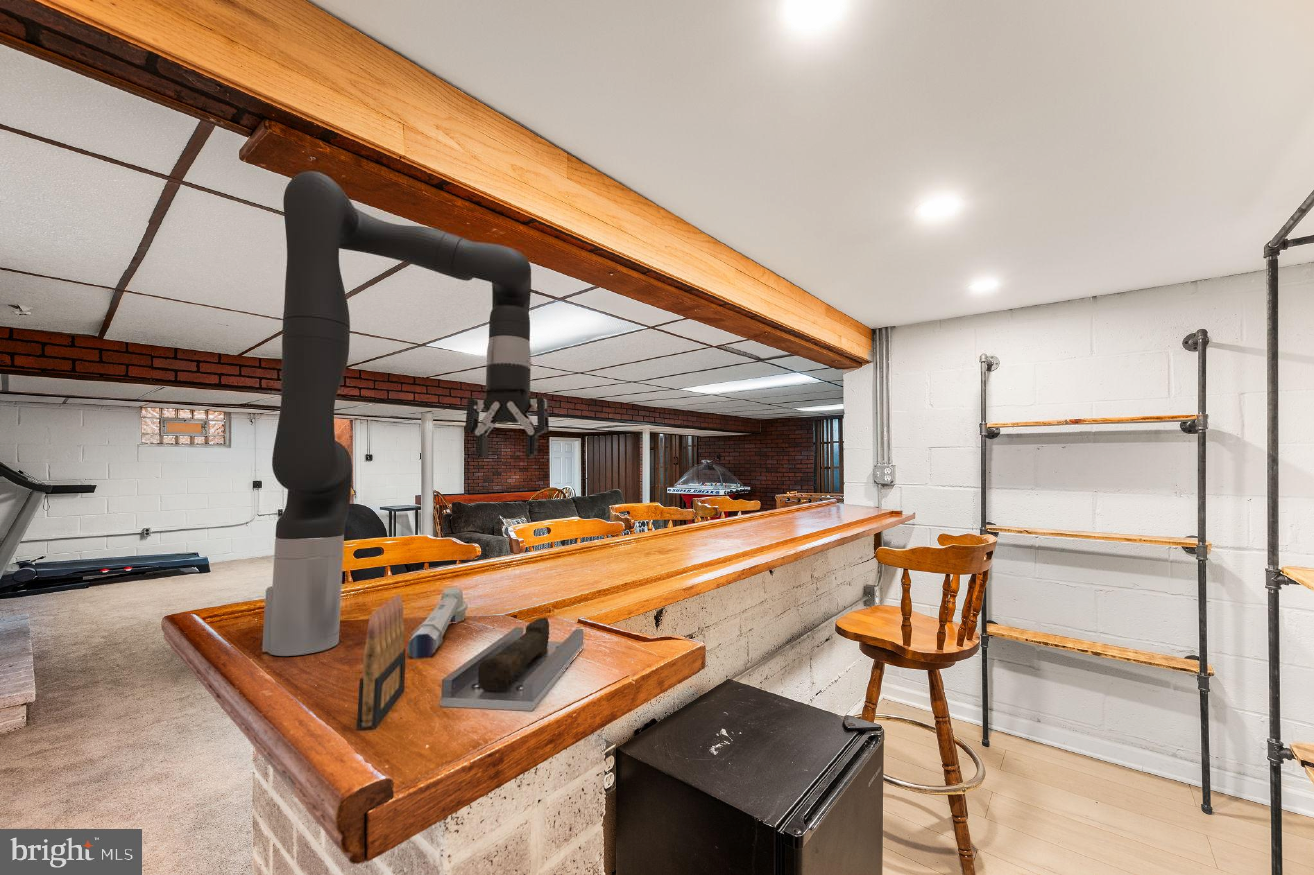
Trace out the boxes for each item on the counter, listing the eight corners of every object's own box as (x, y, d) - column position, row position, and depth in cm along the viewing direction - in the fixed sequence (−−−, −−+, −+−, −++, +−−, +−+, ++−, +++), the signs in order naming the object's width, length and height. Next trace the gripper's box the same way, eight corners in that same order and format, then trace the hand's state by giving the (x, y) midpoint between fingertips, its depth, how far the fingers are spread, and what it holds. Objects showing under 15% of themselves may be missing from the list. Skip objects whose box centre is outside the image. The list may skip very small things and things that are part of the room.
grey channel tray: (440, 706, 62) (441, 679, 62) (515, 646, 85) (515, 627, 85) (532, 711, 61) (533, 683, 61) (583, 649, 83) (583, 629, 84)
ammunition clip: (388, 691, 66) (393, 592, 67) (404, 690, 67) (408, 592, 68) (356, 730, 56) (361, 612, 57) (375, 729, 56) (380, 612, 57)
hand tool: (507, 694, 63) (508, 653, 63) (475, 692, 64) (477, 651, 64) (564, 647, 81) (565, 615, 82) (539, 645, 82) (540, 614, 82)
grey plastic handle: (402, 634, 78) (441, 580, 103) (402, 678, 79) (441, 614, 103) (440, 632, 79) (469, 579, 104) (439, 676, 80) (469, 613, 104)
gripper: (460, 362, 92) (457, 457, 90) (540, 360, 90) (538, 456, 89) (479, 371, 99) (476, 459, 98) (554, 369, 97) (552, 458, 96)
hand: (506, 457), depth 93 cm, fingers open, 8 cm apart
